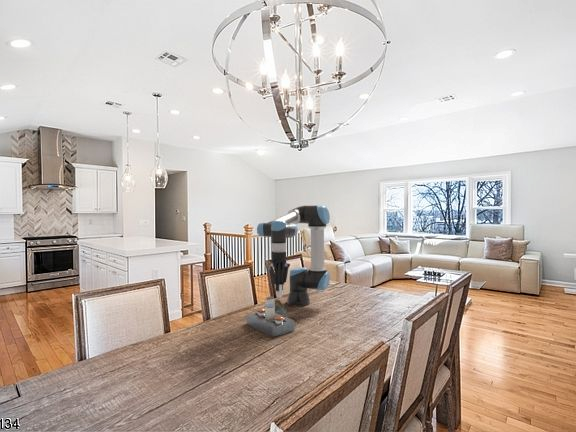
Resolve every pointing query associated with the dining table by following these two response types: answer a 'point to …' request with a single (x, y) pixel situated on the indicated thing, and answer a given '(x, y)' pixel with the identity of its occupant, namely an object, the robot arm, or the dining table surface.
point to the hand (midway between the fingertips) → (279, 297)
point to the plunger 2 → (278, 319)
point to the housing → (270, 324)
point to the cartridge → (269, 308)
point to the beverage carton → (280, 308)
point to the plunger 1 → (261, 311)
